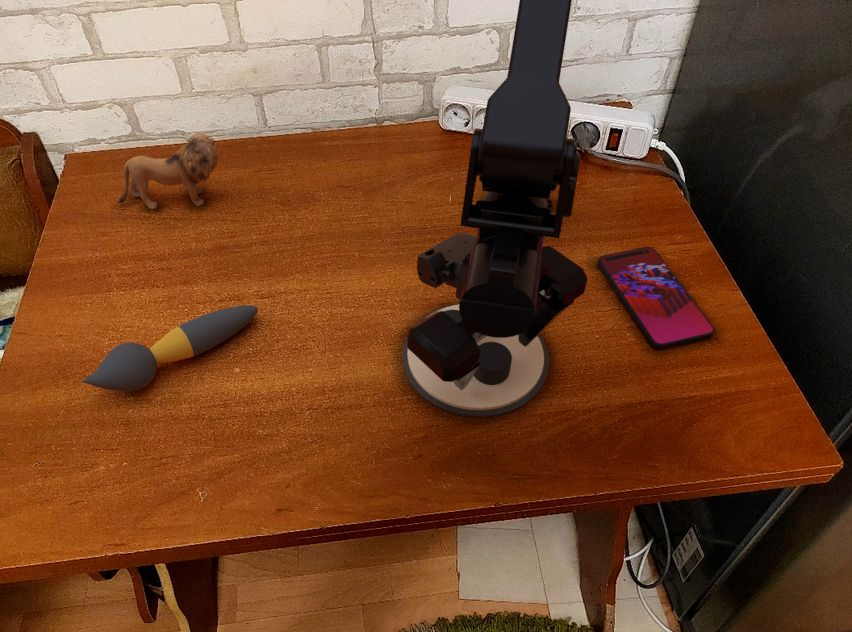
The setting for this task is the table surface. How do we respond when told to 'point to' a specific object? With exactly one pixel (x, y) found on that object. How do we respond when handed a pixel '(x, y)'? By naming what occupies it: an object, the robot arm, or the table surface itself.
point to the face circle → (478, 396)
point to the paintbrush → (168, 349)
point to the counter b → (493, 363)
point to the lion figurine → (173, 169)
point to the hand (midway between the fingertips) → (492, 364)
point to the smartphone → (655, 298)
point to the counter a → (454, 315)
